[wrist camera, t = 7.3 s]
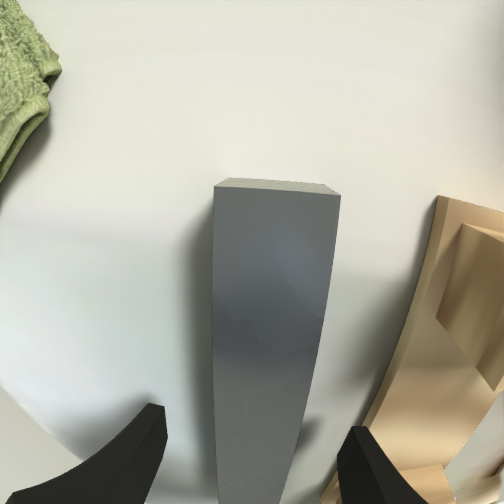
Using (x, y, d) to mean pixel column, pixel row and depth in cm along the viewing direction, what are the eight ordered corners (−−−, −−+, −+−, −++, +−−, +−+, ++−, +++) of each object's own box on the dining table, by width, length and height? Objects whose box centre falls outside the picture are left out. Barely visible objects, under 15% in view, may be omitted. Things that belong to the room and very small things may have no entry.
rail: (273, 487, 16) (271, 524, 13) (226, 483, 16) (220, 520, 13) (322, 183, 10) (340, 195, 7) (230, 177, 10) (213, 186, 7)
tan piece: (418, 486, 15) (433, 540, 10) (320, 496, 15) (323, 560, 10) (552, 229, 9) (627, 266, 4) (438, 194, 9) (539, 232, 4)
